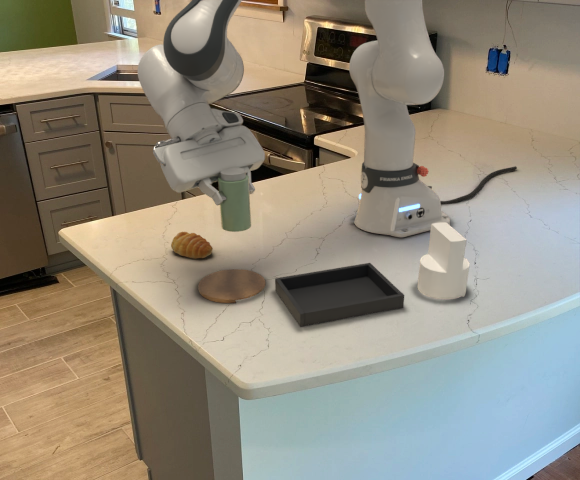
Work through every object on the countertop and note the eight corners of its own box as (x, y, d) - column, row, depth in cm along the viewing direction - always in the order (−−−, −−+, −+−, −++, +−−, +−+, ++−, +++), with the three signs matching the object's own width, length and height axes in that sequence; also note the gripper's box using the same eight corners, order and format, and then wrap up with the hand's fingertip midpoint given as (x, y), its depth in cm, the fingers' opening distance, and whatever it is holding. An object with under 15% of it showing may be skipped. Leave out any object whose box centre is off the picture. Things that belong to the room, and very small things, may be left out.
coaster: (255, 268, 129) (255, 265, 128) (273, 296, 118) (273, 292, 118) (192, 278, 125) (192, 274, 125) (206, 308, 115) (205, 304, 114)
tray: (369, 276, 124) (370, 262, 123) (403, 310, 113) (404, 295, 111) (275, 292, 119) (274, 278, 118) (300, 329, 107) (300, 314, 106)
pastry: (220, 252, 136) (219, 236, 134) (198, 263, 131) (196, 247, 129) (190, 242, 141) (188, 226, 139) (168, 253, 136) (165, 236, 134)
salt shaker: (254, 221, 116) (251, 166, 110) (247, 232, 111) (244, 176, 106) (225, 220, 116) (221, 165, 111) (218, 231, 112) (213, 175, 106)
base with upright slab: (473, 299, 116) (483, 238, 109) (428, 304, 114) (435, 243, 108) (453, 278, 123) (460, 220, 117) (410, 283, 122) (415, 224, 115)
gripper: (154, 132, 102) (197, 203, 102) (246, 111, 115) (285, 174, 114) (142, 155, 107) (183, 222, 107) (231, 132, 120) (269, 193, 119)
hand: (236, 197), depth 111 cm, fingers closed on salt shaker, 5 cm apart
